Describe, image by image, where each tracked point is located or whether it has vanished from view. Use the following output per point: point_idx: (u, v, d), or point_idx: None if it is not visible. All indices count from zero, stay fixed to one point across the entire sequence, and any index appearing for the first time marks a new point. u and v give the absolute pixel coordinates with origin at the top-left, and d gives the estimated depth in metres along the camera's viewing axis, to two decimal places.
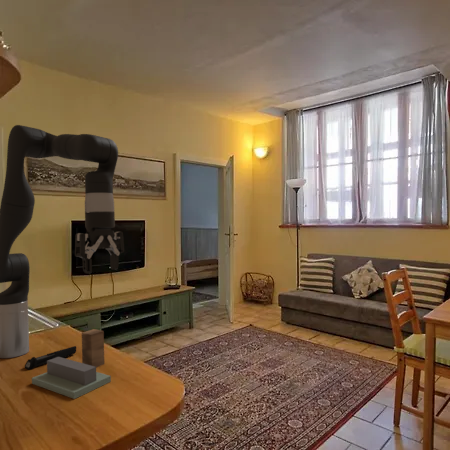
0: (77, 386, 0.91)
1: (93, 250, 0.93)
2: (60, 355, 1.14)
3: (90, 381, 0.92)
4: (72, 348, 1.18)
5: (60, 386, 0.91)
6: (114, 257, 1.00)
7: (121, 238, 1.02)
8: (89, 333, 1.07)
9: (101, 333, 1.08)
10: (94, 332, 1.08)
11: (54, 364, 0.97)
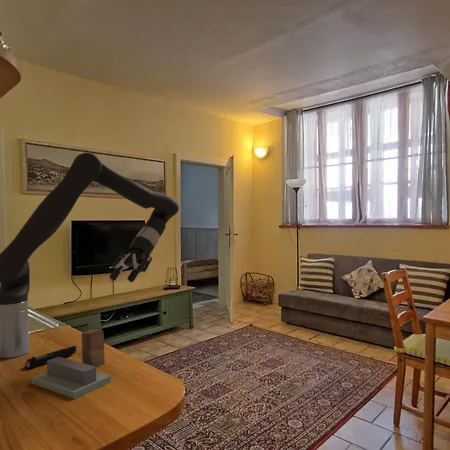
0: (77, 386, 0.91)
1: None
2: (60, 355, 1.14)
3: (90, 381, 0.92)
4: (72, 348, 1.18)
5: (60, 386, 0.91)
6: (119, 272, 1.22)
7: None
8: (89, 333, 1.07)
9: (101, 333, 1.09)
10: (94, 332, 1.08)
11: (54, 364, 0.97)
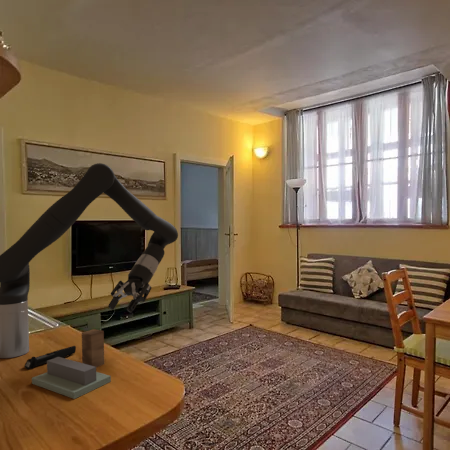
0: (77, 386, 0.91)
1: None
2: (60, 355, 1.14)
3: (90, 381, 0.92)
4: (71, 348, 1.18)
5: (60, 386, 0.91)
6: (117, 301, 1.22)
7: None
8: (89, 333, 1.07)
9: (101, 333, 1.09)
10: (94, 332, 1.08)
11: (54, 364, 0.97)
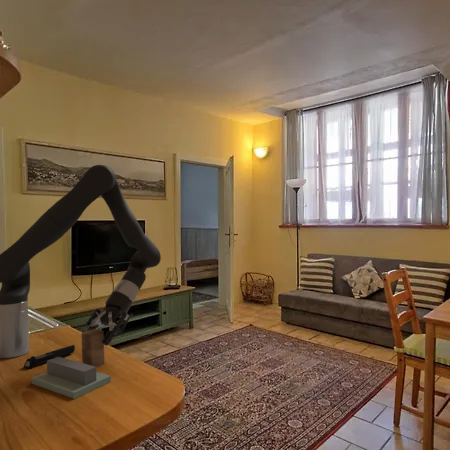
0: (77, 386, 0.91)
1: None
2: (59, 354, 1.15)
3: (90, 381, 0.92)
4: (71, 347, 1.19)
5: (60, 386, 0.91)
6: None
7: None
8: (89, 333, 1.07)
9: (101, 333, 1.09)
10: (94, 332, 1.08)
11: (54, 364, 0.97)
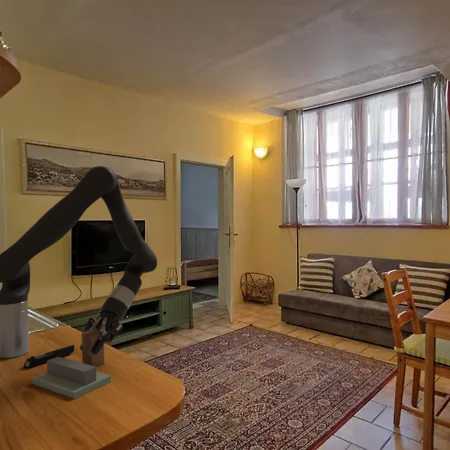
0: (77, 386, 0.91)
1: None
2: (59, 354, 1.15)
3: (90, 381, 0.92)
4: (70, 347, 1.19)
5: (60, 386, 0.91)
6: None
7: None
8: (89, 333, 1.07)
9: None
10: (94, 332, 1.08)
11: (54, 364, 0.97)
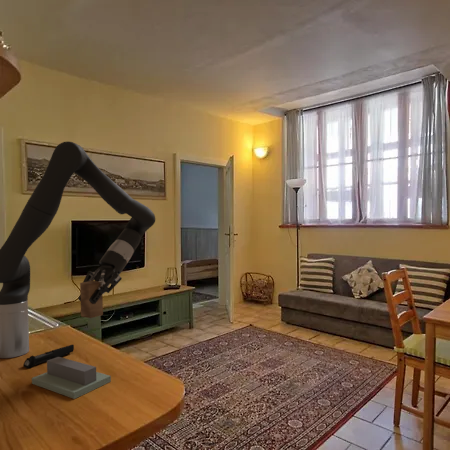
0: (77, 386, 0.91)
1: None
2: (58, 354, 1.15)
3: (90, 381, 0.92)
4: (70, 346, 1.19)
5: (60, 386, 0.91)
6: None
7: None
8: (88, 283, 1.07)
9: None
10: (93, 282, 1.08)
11: (54, 364, 0.97)
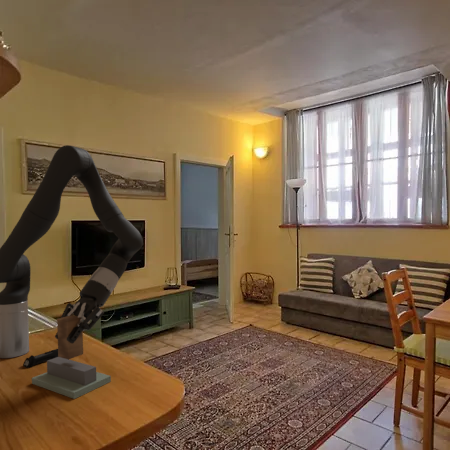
0: (77, 386, 0.91)
1: None
2: None
3: (90, 381, 0.92)
4: None
5: (60, 386, 0.91)
6: None
7: None
8: (65, 319, 0.95)
9: None
10: (71, 318, 0.96)
11: (54, 364, 0.97)
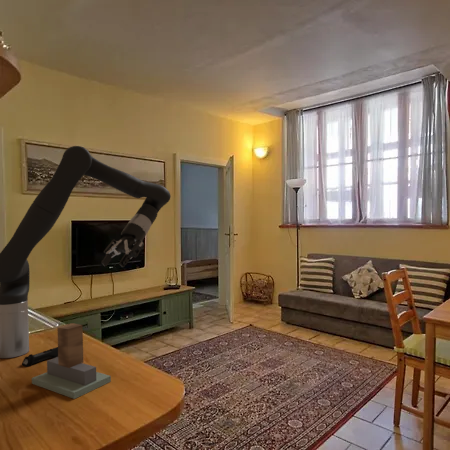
0: (77, 386, 0.91)
1: None
2: (57, 352, 1.17)
3: (90, 381, 0.92)
4: None
5: (60, 386, 0.91)
6: (110, 258, 1.24)
7: None
8: (66, 327, 0.95)
9: (79, 327, 0.97)
10: (71, 326, 0.96)
11: (54, 364, 0.97)
